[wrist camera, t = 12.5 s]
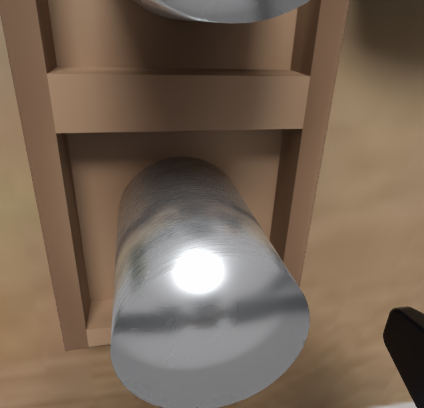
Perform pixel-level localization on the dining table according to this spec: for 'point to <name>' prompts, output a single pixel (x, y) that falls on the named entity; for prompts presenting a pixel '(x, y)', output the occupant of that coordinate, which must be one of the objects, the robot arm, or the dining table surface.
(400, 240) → the dining table surface
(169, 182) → the billet
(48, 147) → the pallet
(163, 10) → the seated billet
